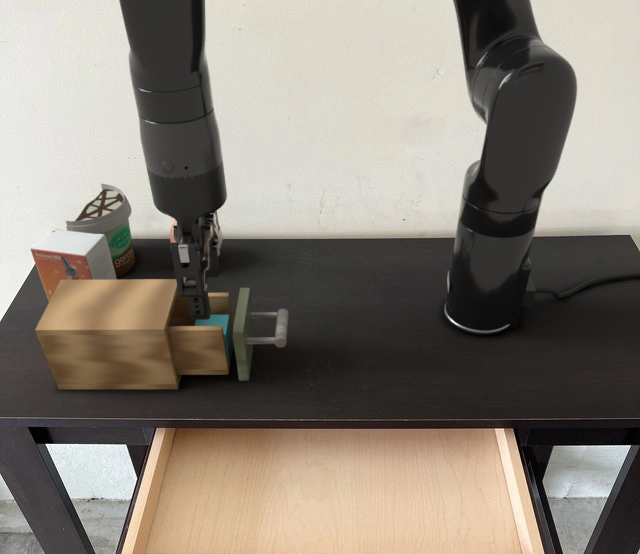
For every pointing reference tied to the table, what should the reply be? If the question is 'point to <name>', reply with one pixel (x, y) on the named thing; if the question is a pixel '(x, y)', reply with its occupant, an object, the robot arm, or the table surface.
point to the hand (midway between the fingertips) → (206, 295)
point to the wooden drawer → (219, 336)
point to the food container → (109, 225)
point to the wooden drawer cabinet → (110, 334)
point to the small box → (71, 258)
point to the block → (225, 322)
